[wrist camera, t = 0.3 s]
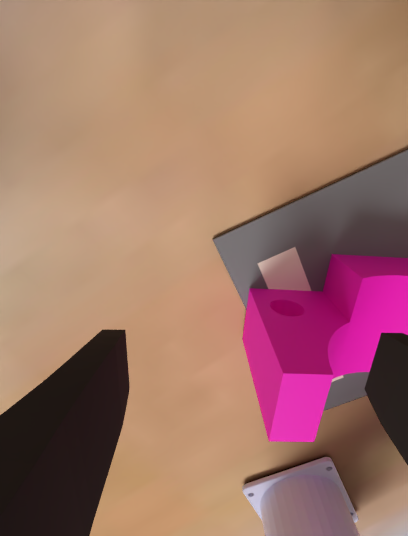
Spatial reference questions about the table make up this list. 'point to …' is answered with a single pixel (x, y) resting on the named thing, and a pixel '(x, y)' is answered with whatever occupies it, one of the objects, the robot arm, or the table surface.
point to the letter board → (323, 241)
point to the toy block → (320, 338)
